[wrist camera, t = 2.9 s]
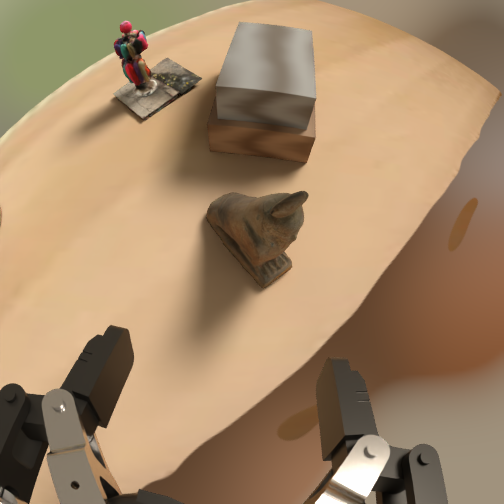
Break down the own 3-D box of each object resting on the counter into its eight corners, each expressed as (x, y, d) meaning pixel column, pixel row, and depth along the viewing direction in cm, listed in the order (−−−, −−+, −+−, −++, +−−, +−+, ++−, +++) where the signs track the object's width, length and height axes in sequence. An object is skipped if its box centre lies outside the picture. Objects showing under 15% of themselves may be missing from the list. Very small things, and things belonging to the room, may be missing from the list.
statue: (147, 126, 37) (107, 53, 22) (117, 101, 39) (79, 38, 24) (203, 83, 38) (185, 6, 24) (168, 63, 40) (146, -4, 25)
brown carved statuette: (288, 270, 33) (366, 249, 17) (251, 294, 31) (303, 295, 16) (238, 190, 33) (272, 106, 17) (200, 210, 32) (203, 134, 16)
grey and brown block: (210, 151, 34) (203, 91, 25) (232, 69, 40) (233, 19, 30) (306, 162, 34) (326, 106, 25) (306, 78, 40) (318, 29, 30)
